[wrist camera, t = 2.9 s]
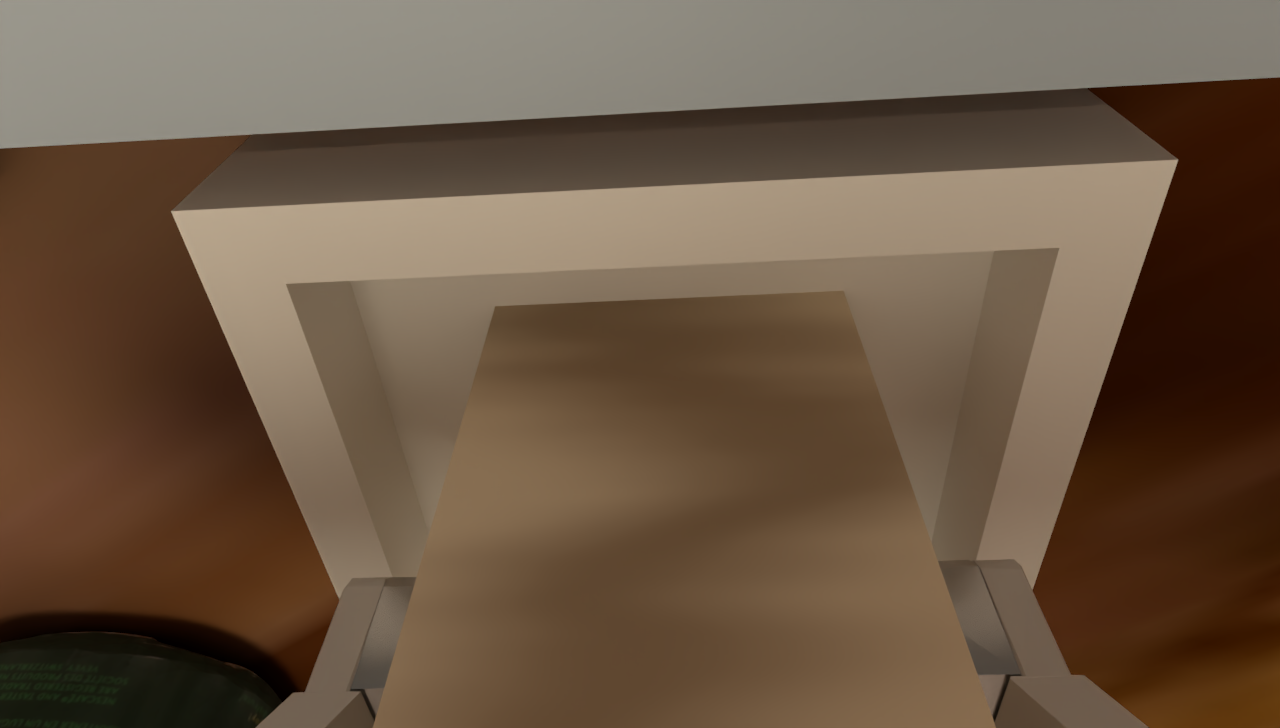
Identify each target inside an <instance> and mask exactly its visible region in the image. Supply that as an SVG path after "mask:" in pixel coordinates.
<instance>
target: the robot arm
mask: <svg viewBox="0 0 1280 728" xmlns="http://www.w3.org/2000/svg"><path fill="white" fill-rule="evenodd" d="M938 563H939V566H940V568H941V571H942V574H943V577H944V580H945V583H946V586H947V589H948V591H949V594H950V597H951V600H952V603H953V606H954V609H955V611H956V614H957V617H958V620H959V623H960V626H961V629H962V631H963V634H964V637H965V640H966V643H967V646H968V649H969V651H970V654H971V657H972V660H973V663H974V666H975V669H976V672H977V674H978V677H979V680H980V683H981V686H982V689H983V692H984V694H985V697H986V700H987V703H988V706H989V709H990V712H991V714H992V717H993V720H994V723H995V726H996V728H1149V727H1148V726H1146V725H1145V724H1144V723H1143V722H1141V721H1140V720H1139V719H1138V718H1137V717H1135V716H1134V715H1133V714H1132V713H1130V712H1129V711H1128V710H1127V709H1125V708H1124V707H1123V706H1122V705H1120V704H1119V703H1118V702H1117V701H1116V700H1114V699H1113V698H1112V697H1111V696H1109V695H1108V694H1107V693H1106V692H1104V691H1103V690H1102V689H1101V688H1099V687H1098V686H1097V685H1096V684H1094V683H1093V682H1092V681H1091V680H1090V679H1088V678H1087V677H1086V676H1085V675H1071V673H1070V671H1069V669H1068V667H1067V665H1066V662H1065V660H1064V658H1063V656H1062V654H1061V652H1060V649H1059V647H1058V645H1057V643H1056V641H1055V639H1054V636H1053V634H1052V632H1051V630H1050V628H1049V625H1048V623H1047V621H1046V619H1045V617H1044V615H1043V612H1042V610H1041V608H1040V606H1039V604H1038V601H1037V599H1036V597H1035V595H1034V593H1033V591H1032V588H1031V586H1030V584H1029V582H1028V580H1027V578H1026V575H1025V573H1024V571H1023V569H1022V567H1021V565H1020V564H1019V563H1018V562H1016V561H1015V560H1014V559H1002V560H973V561H970V560H949V561H938ZM415 581H416V577H374V578H352V579H351V581H350V582H349V583H348V584H347V586H346V587H345V588H344V589H343V592H342V594H341V597H340V600H339V602H338V605H337V608H336V610H335V613H334V616H333V618H332V621H331V624H330V626H329V629H328V632H327V634H326V637H325V639H324V642H323V645H322V647H321V650H320V653H319V655H318V658H317V661H316V663H315V666H314V669H313V671H312V674H311V677H310V679H309V682H308V684H307V687H306V690H305V692H296V693H292V694H291V695H290V696H289V697H288V698H287V699H286V700H285V701H284V702H282V703H281V704H280V705H279V706H278V707H277V708H276V709H275V710H274V711H273V712H272V713H271V714H269V715H268V716H267V717H266V718H265V719H264V720H263V721H262V722H261V723H260V724H259V725H258V726H257V727H255V728H373V725H374V722H375V718H376V715H377V711H378V708H379V704H380V701H381V698H382V694H383V691H384V687H385V684H386V680H387V677H388V673H389V670H390V667H391V663H392V660H393V656H394V653H395V649H396V646H397V643H398V639H399V636H400V632H401V629H402V625H403V622H404V618H405V615H406V612H407V608H408V605H409V601H410V598H411V594H412V591H413V587H414V584H415Z"/></svg>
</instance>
